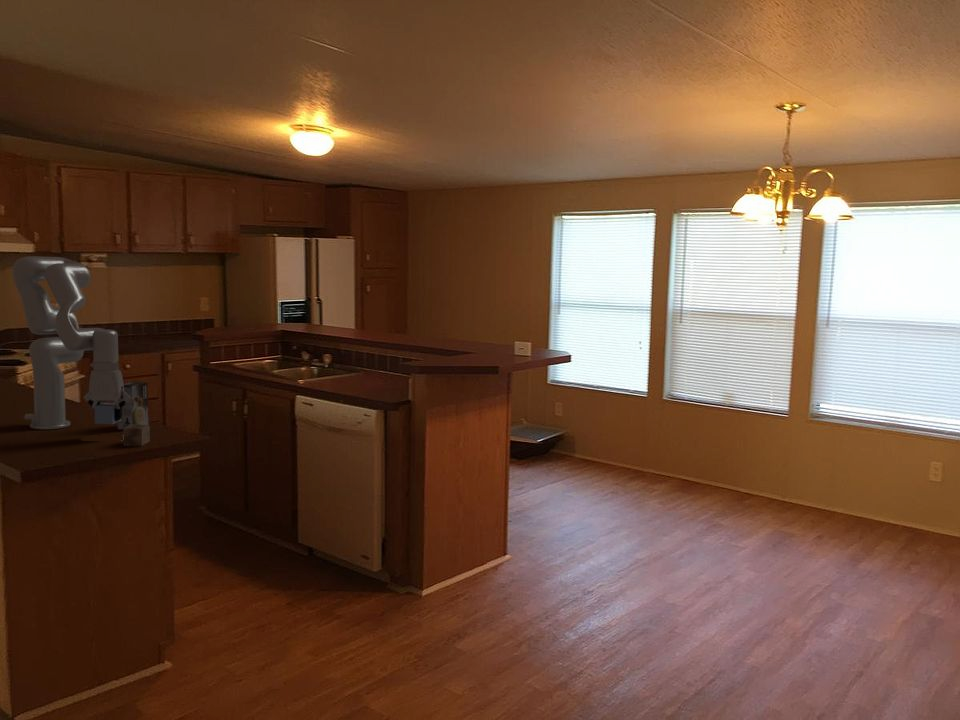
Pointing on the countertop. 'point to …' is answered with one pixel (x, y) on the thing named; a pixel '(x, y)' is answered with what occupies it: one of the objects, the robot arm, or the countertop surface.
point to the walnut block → (136, 435)
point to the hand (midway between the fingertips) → (108, 419)
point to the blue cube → (105, 413)
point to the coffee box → (135, 405)
